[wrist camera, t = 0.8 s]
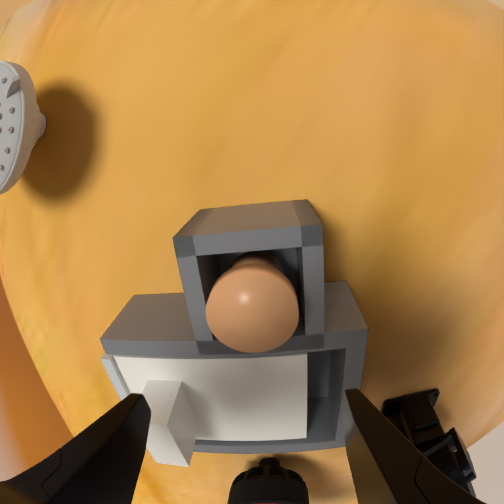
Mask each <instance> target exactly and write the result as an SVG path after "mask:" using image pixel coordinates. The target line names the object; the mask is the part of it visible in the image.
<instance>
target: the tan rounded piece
mask: <svg viewBox="0 0 504 504" xmlns="http://www.w3.org/2000/svg"><path fill="white" fill-rule="evenodd" d="M206 320H207V324H208V326H209V328H210V330H211V332H212V333H213V334H214V336H215V337H216V338H217V339H218V340H219V341H220V342H222V343H223V344H225V345H226V346H228V347H230V348H232V349H235V350H238V351H241V352H247V353H261V352H266V351H270V350H273V349H275V348H277V347H279V346H281V345H282V344H284V343H285V342H286V341H287V340H288V339H289V338H290V337H291V336H292V335H293V333H294V331H295V330H296V327H297V325H298V320H299V310H298V303H297V296H296V292H295V289H294V287H293V285H292V284H291V282H290V281H289V280H288V278H287V277H286V276H285V275H284V271H283V268H282V266H281V264H280V262H279V261H278V260H277V259H276V258H275V257H274V256H272V255H270V254H268V253H266V252H262V251H249V252H246V253H243V254H241V255H239V256H238V257H237V258H236V259H235V260H234V261H233V262H232V264H231V266H230V268H229V270H227V271H226V272H224V273H223V274H222V275H221V276H220V277H219V278H218V279H217V281H216V282H215V284H214V286H213V288H212V290H211V293H210V296H209V298H208V301H207V304H206Z"/></svg>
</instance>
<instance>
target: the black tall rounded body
mask: <svg viewBox="0 0 504 504" xmlns="http://www.w3.org/2000/svg"><path fill="white" fill-rule="evenodd" d="M228 504H309V498H308V489H307V487H306V484H305V482H304V481H303V479H302V477H301V476H300V475H299V474H297V473H296V472H294V471H292V470H289V469H286V468H284V467H280V462H279V460H277V459H274V458H265V459H263V460H261V461H260V462H259V467H254V468H251V469H249V470H248V471H245V472H242V473H240V474H239V475H238V476H237V477H236V478H235V479H234V481H233V483H232V486H231V489H230V493H229V499H228Z"/></svg>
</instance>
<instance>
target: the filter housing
mask: <svg viewBox="0 0 504 504" xmlns="http://www.w3.org/2000/svg"><path fill="white" fill-rule="evenodd" d="M173 243H174V248H175V253H176V258H177V262H178V267H179V272H180V277H181V281H182V286H183V290H184V293H170V294H147V295H134V296H133V297H132V298H131V299H130V301H129V302H128V303H127V304H126V306H125V307H124V308H123V309H122V311H121V312H120V313H119V315H118V316H117V317H116V318H115V320H114V321H113V322H112V324H111V325H110V326H109V328H108V329H107V330H106V331H105V333H104V334H103V335H102V337H101V338H100V341H101V343H102V346H103V348H104V350H105V353H106V354H114V355H130V356H152V357H241V356H263V355H279V354H293V353H304V352H307V435H306V438H301V439H287V440H265V441H222V440H200V439H196V440H195V444H194V448H193V452H208V453H232V454H263V453H287V452H302V451H313V450H322V449H331V448H338V447H345V446H346V443H345V434H344V425H343V417H342V401H343V393H344V390H346V389H352V388H357V389H359V390H360V386H361V380H362V374H363V367H364V360H365V353H366V345H367V336H368V326H367V324H366V322H365V320H364V318H363V316H362V313H361V311H360V309H359V307H358V305H357V303H356V301H355V299H354V296H353V294H352V292H351V290H350V288H349V286H348V284H347V282H346V281H338V282H327V283H324V250H323V224H322V223H321V221H320V219H319V218H318V216H317V214H316V213H315V211H314V209H313V208H312V206H311V205H310V203H309V201H308V200H294V201H282V202H270V203H259V204H249V205H239V206H229V207H220V208H211V209H202V210H199V211H198V212H197V213H196V214H195V215H194V216H193V217H192V218H191V219H190V220H189V221H188V222H187V223H186V224H185V225H184V226H183V228H182V229H181V230H180V231H179V232H178V233H177V234H176V235H175V236H174V237H173ZM249 251H262V252H266V253H268V254H270V255H272V256H274V257H275V258H276V259H277V260H278V261H279V262H280V264H281V266H282V268H283V271H284V275H285V276H286V277H287V278H288V280H289V281H290V282H291V284H292V285H293V287H294V289H295V292H296V296H297V303H298V310H299V320H298V325H297V327H296V330H295V331H294V333H293V335H292V336H291V337H290V338H289V339H288V340H287V341H286V342H285V343H284V344H282V345H281V346H279V347H277V348H275V349H273V350H270V351H266V352H261V353H247V352H241V351H238V350H235V349H232V348H230V347H228V346H226V345H225V344H223V343H222V342H220V341H219V340H218V339H217V338H216V337H215V336H214V334H213V333H212V332H211V330H210V328H209V326H208V324H207V320H206V304H207V301H208V298H209V296H210V293H211V290H212V288H213V286H214V284H215V282H216V281H217V279H218V278H219V277H220V276H221V275H222V274H223V273H224V272H226V271H227V270H229V268H230V266H231V264H232V262H233V261H234V260H235V259H236V258H237V257H238V256H239V255H241V254H243V253H246V252H249Z"/></svg>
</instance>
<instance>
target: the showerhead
mask: <svg viewBox="0 0 504 504" xmlns="http://www.w3.org/2000/svg"><path fill="white" fill-rule="evenodd" d="M45 128H46V118H45V116H44V115H43V114H42V113H40V109H39V106H38V104H37V102H36V93H35V89H34V85H33V82H32V79H31V77H30V75H29V74H28V72H27V71H26V70H25V69H24V68H23V67H22V66H20V65H19V64H16V63H11V62H6V61H0V194H3V193H5V192H7V191H8V190H10V189H11V188H12V187H13V186H14V185H15V184H16V182H17V181H18V180H19V178H20V177H21V175H22V173H23V171H24V169H25V167H26V165H27V162H28V160H29V157H30V154H31V151H32V148H33V147H34V145H35V143H36V142H37V139H38V138H40V137H41V136H42V135H43V133H44V131H45Z"/></svg>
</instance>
